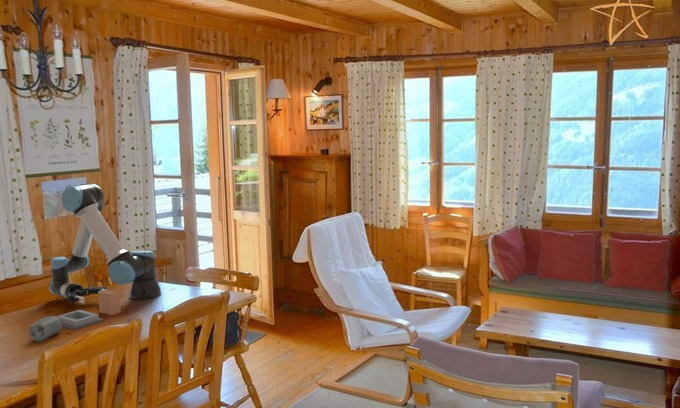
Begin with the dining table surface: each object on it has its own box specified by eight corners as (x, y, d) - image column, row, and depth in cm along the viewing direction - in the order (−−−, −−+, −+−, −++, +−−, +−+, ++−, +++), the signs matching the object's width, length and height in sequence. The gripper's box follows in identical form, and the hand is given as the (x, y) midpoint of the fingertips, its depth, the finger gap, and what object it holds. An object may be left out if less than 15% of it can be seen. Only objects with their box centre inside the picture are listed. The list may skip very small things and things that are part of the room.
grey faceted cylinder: (43, 337, 232) (36, 313, 235) (26, 346, 235) (20, 323, 238) (70, 334, 245) (64, 311, 248) (54, 342, 248) (48, 320, 250)
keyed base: (81, 314, 271) (81, 308, 270) (103, 320, 261) (102, 314, 261) (52, 323, 260) (51, 316, 259) (73, 330, 250) (73, 323, 249)
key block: (109, 309, 278) (107, 288, 277) (120, 312, 273) (119, 291, 271) (99, 312, 274) (97, 291, 273) (111, 315, 269) (109, 294, 267)
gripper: (96, 292, 301) (121, 297, 289) (48, 304, 281) (72, 311, 268) (94, 277, 300) (119, 282, 288) (46, 289, 280) (71, 295, 267)
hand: (97, 296), depth 278 cm, fingers open, 13 cm apart
